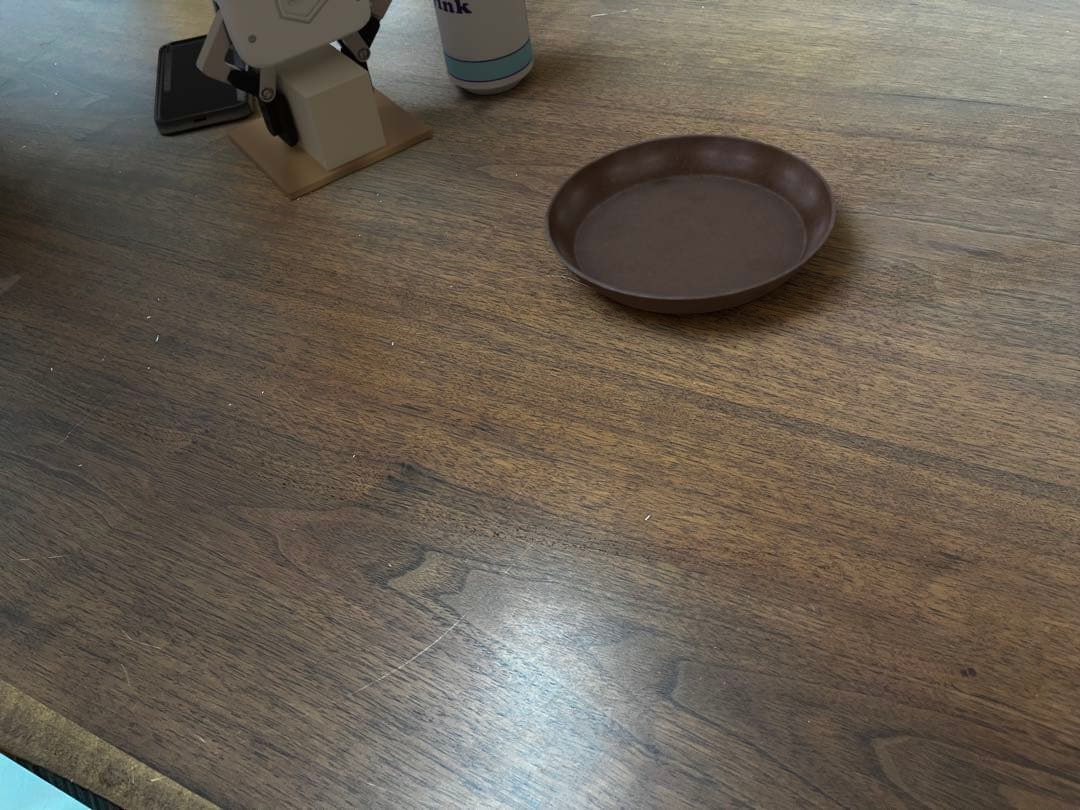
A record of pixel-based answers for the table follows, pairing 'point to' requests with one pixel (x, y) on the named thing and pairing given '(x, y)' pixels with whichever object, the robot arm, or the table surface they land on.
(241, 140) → the pad
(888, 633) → the table surface
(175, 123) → the phone
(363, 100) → the clock
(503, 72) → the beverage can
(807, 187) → the plant saucer
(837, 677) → the table surface
